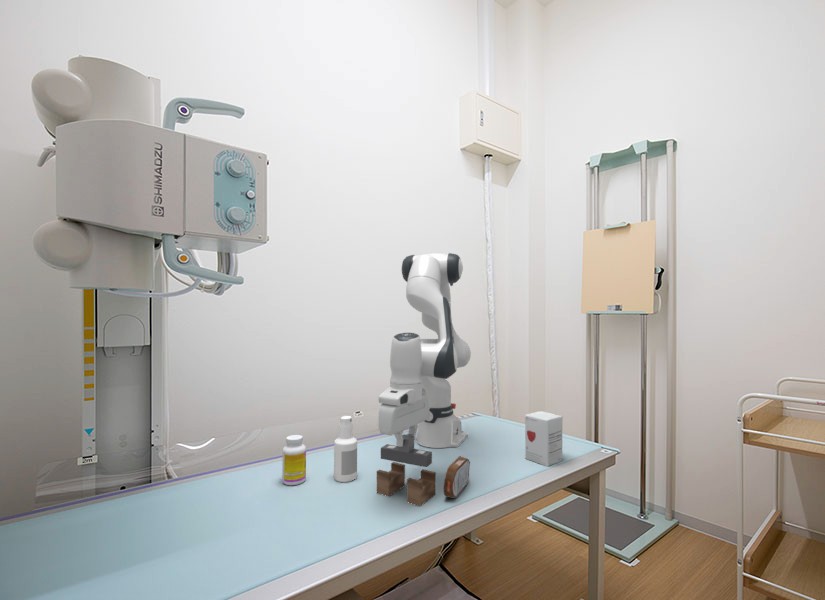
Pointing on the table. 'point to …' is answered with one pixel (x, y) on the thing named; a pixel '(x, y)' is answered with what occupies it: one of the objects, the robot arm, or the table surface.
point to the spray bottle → (345, 452)
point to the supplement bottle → (294, 461)
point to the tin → (456, 477)
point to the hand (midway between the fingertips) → (405, 443)
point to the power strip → (407, 453)
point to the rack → (416, 489)
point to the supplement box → (543, 438)
